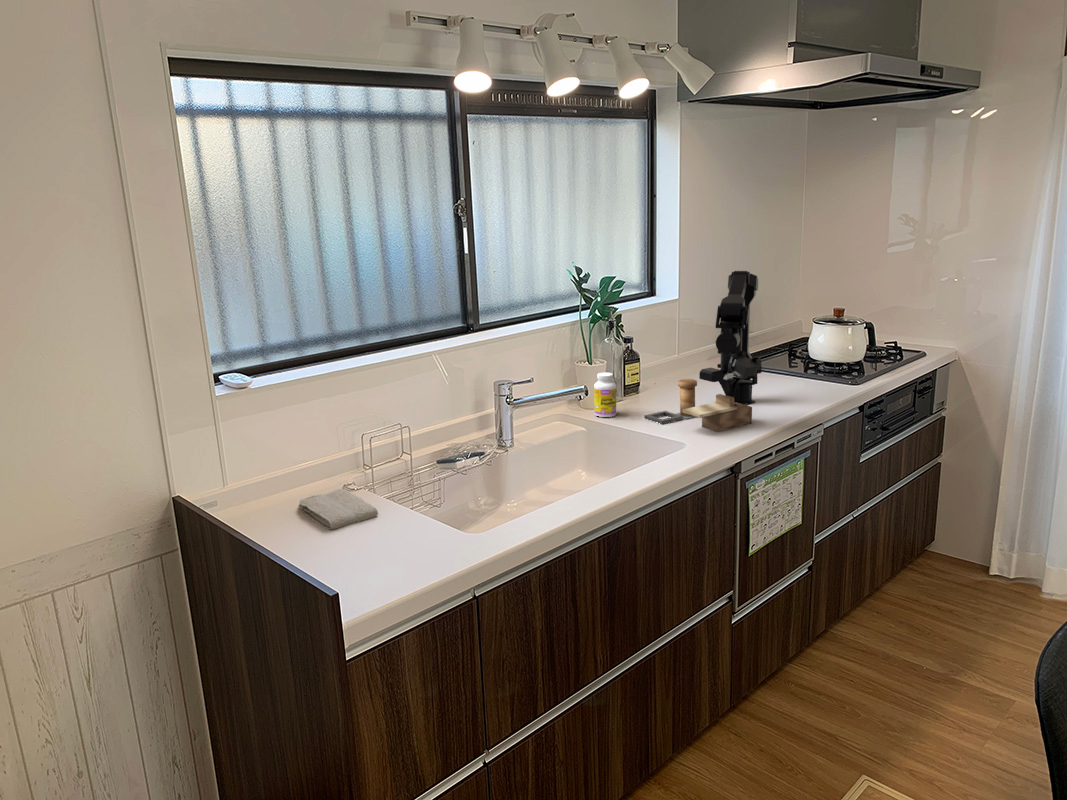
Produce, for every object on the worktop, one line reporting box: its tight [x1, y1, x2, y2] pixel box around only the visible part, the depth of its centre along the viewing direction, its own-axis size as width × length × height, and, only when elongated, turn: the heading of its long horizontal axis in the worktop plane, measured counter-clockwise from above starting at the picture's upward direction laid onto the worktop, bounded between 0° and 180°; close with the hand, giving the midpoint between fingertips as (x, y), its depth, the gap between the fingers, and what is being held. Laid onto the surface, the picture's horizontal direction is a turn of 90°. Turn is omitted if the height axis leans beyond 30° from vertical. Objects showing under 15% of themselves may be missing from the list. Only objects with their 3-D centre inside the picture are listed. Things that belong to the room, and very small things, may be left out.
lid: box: [682, 393, 737, 419], centre depth 232 cm, size 14×7×3 cm, turn 121°
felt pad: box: [676, 412, 697, 420], centre depth 248 cm, size 6×6×1 cm
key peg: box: [677, 378, 698, 417], centre depth 246 cm, size 6×6×10 cm
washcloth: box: [297, 488, 379, 530], centre depth 183 cm, size 12×18×3 cm, turn 40°
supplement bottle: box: [593, 371, 617, 418], centre depth 250 cm, size 7×7×13 cm
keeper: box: [643, 410, 684, 425], centre depth 245 cm, size 8×8×1 cm
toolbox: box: [701, 403, 753, 433], centre depth 236 cm, size 13×6×5 cm, turn 121°
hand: (730, 400), depth 235 cm, fingers closed
